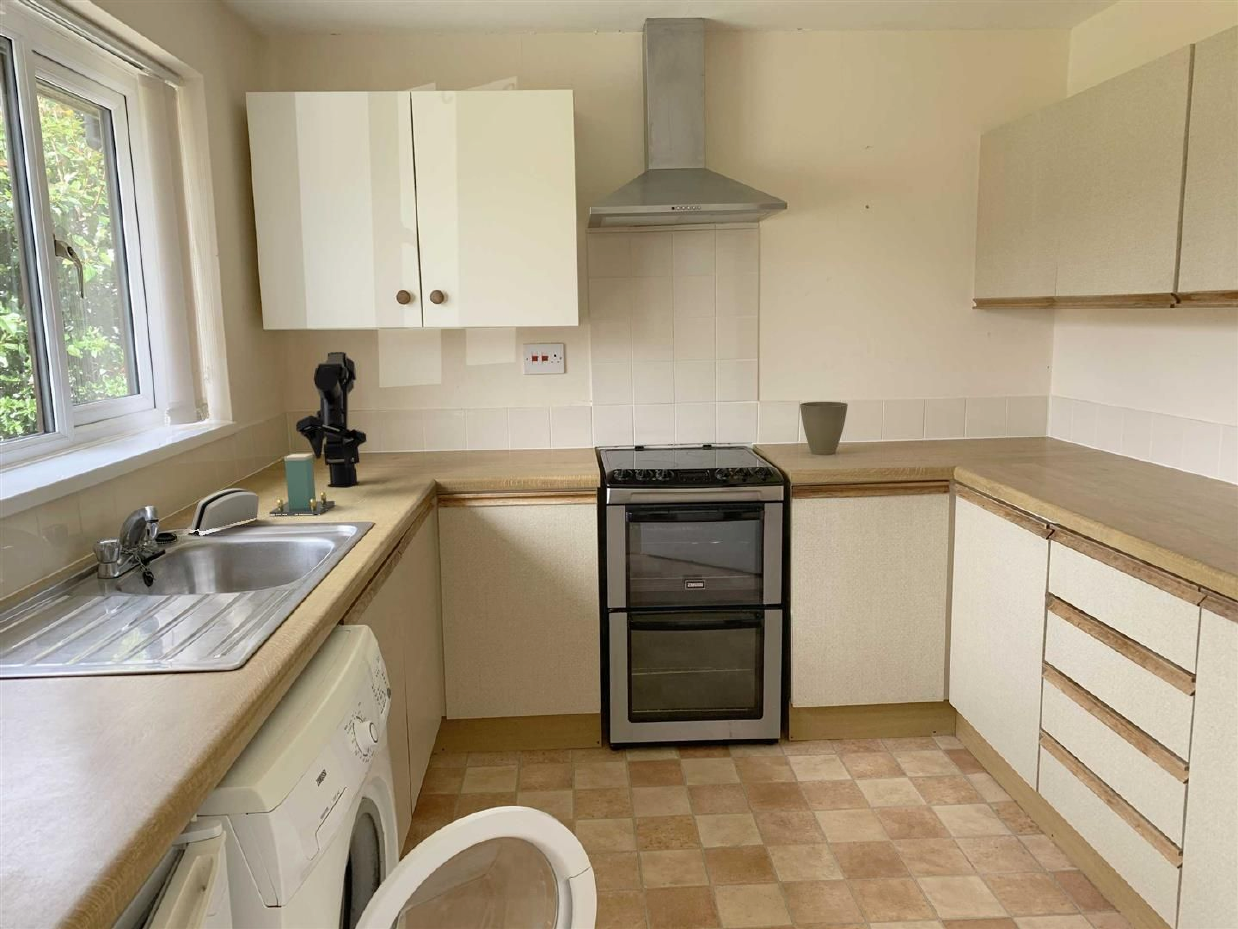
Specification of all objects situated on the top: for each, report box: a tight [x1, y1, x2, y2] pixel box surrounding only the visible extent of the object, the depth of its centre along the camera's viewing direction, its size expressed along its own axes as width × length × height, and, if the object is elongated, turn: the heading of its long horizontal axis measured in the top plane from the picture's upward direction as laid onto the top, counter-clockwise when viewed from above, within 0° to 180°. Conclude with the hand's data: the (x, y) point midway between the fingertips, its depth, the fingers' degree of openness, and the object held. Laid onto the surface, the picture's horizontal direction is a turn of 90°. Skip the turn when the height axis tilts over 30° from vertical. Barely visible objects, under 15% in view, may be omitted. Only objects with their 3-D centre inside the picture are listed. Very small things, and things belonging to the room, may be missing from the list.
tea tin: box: [283, 453, 317, 509], centre depth 226 cm, size 5×5×13 cm
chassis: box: [269, 492, 335, 515], centre depth 227 cm, size 12×12×4 cm
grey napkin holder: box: [186, 488, 260, 531], centre depth 210 cm, size 17×5×10 cm, turn 158°
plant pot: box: [799, 401, 848, 456], centre depth 295 cm, size 15×15×16 cm
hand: (332, 462), depth 237 cm, fingers open, 9 cm apart
